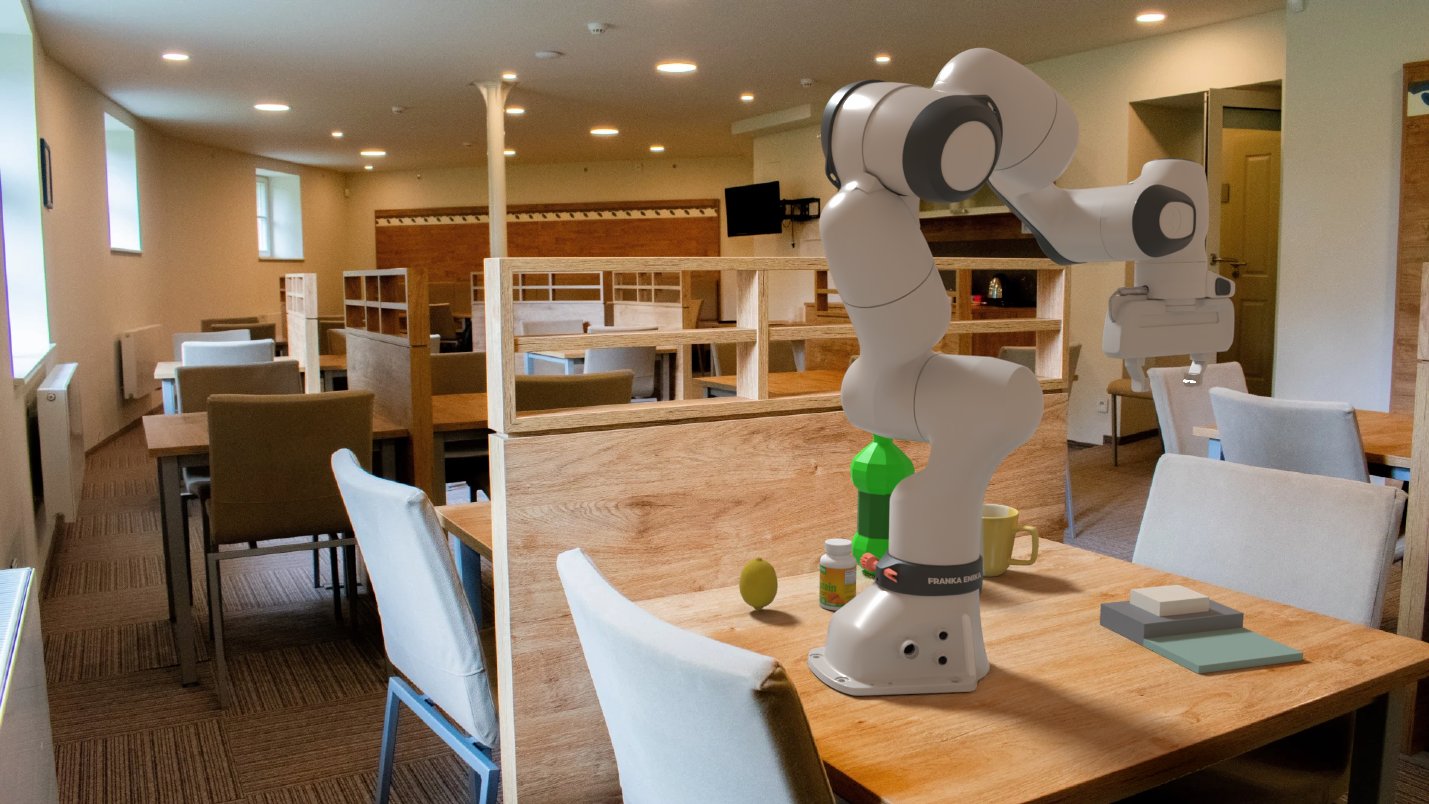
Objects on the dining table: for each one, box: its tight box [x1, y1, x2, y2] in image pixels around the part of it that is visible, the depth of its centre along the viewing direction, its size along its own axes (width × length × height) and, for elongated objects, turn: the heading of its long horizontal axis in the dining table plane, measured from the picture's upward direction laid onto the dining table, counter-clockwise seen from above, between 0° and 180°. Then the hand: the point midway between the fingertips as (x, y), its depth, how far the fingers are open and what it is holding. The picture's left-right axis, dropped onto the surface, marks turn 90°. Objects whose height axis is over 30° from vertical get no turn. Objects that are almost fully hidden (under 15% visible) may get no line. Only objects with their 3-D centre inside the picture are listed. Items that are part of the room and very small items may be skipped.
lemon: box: [738, 556, 778, 612], centre depth 151 cm, size 6×6×8 cm
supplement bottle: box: [818, 537, 858, 612], centre depth 153 cm, size 5×5×10 cm
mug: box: [979, 503, 1040, 577], centre depth 169 cm, size 14×10×10 cm
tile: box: [1129, 584, 1210, 617], centre depth 143 cm, size 8×6×2 cm
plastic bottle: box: [849, 433, 916, 576], centre depth 170 cm, size 10×10×25 cm
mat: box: [1142, 626, 1304, 675], centre depth 134 cm, size 16×10×1 cm, turn 106°
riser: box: [1099, 598, 1245, 647], centre depth 143 cm, size 16×9×3 cm, turn 106°
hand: (1167, 389), depth 139 cm, fingers open, 8 cm apart
